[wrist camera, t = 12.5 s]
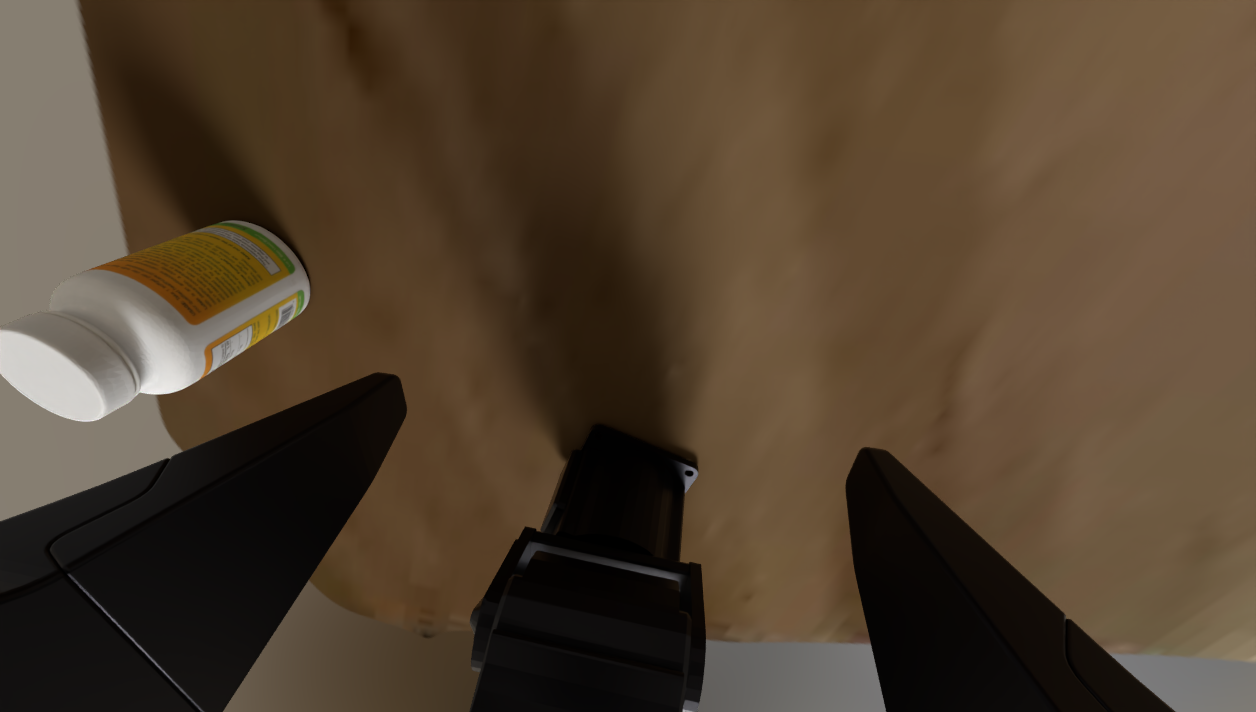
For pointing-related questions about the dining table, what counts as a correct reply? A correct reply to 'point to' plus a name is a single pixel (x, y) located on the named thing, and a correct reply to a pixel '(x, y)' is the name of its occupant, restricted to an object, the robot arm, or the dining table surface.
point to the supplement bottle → (153, 320)
